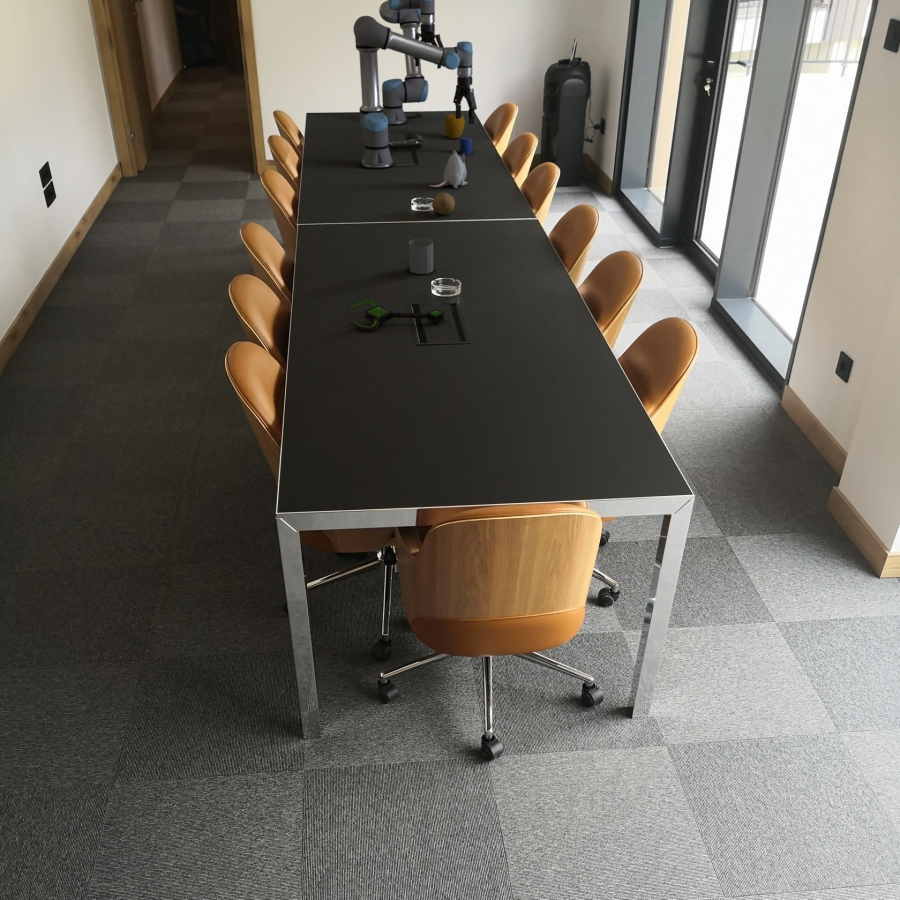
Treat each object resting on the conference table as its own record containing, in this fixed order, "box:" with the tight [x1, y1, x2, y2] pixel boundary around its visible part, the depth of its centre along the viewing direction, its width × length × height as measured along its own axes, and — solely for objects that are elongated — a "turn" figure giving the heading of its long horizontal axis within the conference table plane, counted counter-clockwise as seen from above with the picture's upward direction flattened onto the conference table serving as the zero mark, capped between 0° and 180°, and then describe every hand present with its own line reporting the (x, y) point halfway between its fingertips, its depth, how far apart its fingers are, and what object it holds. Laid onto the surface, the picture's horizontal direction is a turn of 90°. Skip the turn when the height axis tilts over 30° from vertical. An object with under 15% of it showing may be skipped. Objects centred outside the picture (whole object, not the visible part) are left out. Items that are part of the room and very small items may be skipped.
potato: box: [431, 192, 456, 216], centre depth 360 cm, size 10×14×8 cm
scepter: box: [348, 298, 446, 331], centre depth 269 cm, size 6×13×30 cm
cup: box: [408, 237, 434, 275], centre depth 305 cm, size 8×8×10 cm
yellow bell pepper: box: [444, 113, 466, 140], centre depth 472 cm, size 11×11×13 cm
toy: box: [428, 149, 468, 189], centre depth 390 cm, size 9×24×15 cm, turn 137°
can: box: [459, 136, 473, 155], centre depth 447 cm, size 6×6×7 cm
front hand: (464, 121), depth 439 cm, fingers open, 13 cm apart
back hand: (428, 67), depth 464 cm, fingers open, 13 cm apart
